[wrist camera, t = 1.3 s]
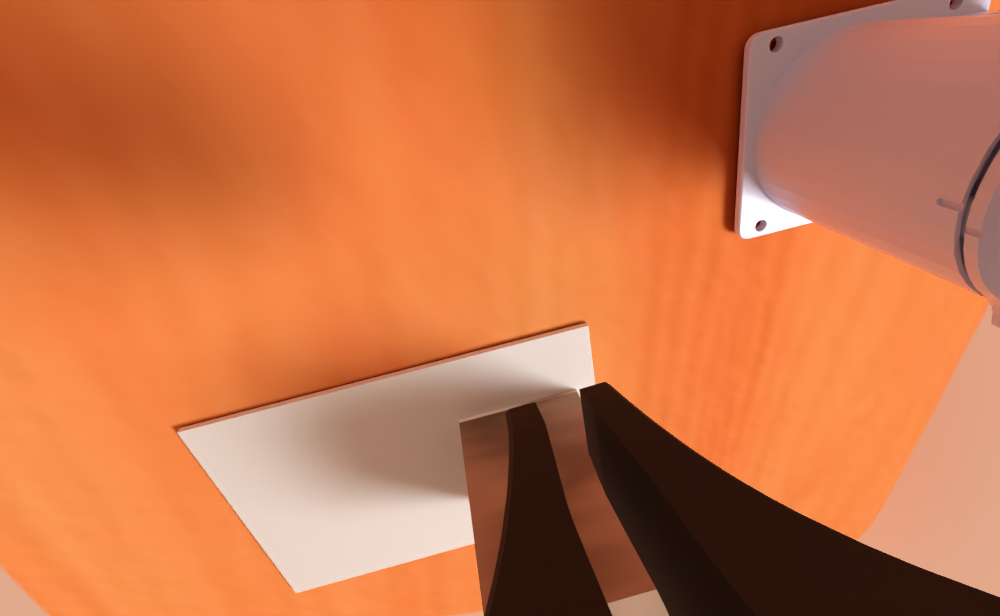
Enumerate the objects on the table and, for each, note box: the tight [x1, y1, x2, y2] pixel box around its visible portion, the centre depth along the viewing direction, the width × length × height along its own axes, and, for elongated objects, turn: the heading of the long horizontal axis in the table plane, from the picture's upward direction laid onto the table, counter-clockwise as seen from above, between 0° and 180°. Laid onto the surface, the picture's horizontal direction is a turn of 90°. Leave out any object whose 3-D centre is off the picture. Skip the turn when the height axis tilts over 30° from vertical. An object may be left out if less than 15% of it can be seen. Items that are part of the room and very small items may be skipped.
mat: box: [177, 323, 595, 593], centre depth 25 cm, size 19×13×1 cm
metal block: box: [459, 389, 669, 616], centre depth 21 cm, size 6×6×10 cm
